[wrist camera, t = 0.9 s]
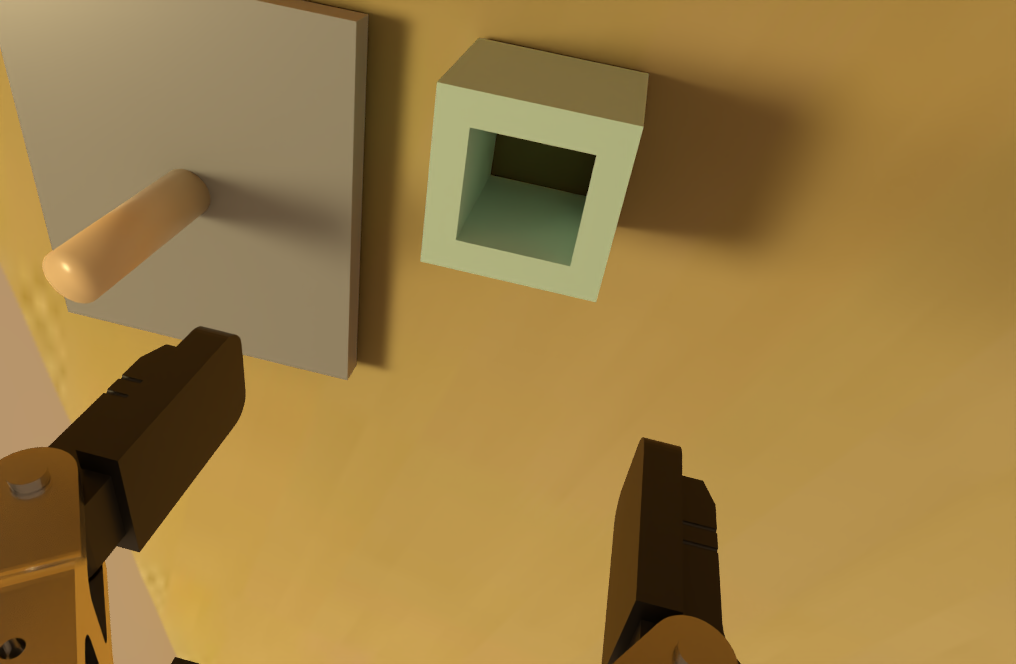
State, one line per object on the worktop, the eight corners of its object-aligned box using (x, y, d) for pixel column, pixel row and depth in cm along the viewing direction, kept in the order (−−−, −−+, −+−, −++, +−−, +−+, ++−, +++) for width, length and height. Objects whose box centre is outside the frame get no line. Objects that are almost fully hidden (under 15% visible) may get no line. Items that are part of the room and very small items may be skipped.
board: (-2, -64, 26) (-231, -29, 19) (368, 14, 25) (260, 79, 19) (85, 298, 36) (-50, 405, 29) (356, 364, 35) (281, 490, 28)
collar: (478, 37, 25) (437, 82, 21) (649, 73, 25) (643, 126, 20) (459, 194, 28) (420, 261, 24) (608, 227, 28) (596, 301, 24)
